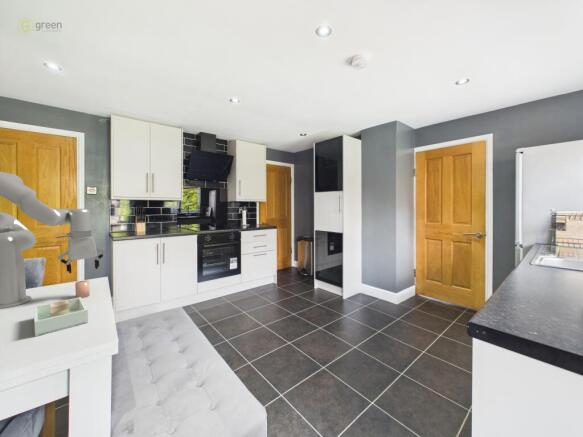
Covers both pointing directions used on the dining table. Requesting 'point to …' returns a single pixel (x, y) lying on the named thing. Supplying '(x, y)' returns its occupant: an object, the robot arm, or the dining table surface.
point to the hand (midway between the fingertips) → (83, 270)
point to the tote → (59, 317)
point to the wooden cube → (59, 308)
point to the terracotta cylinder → (82, 289)
